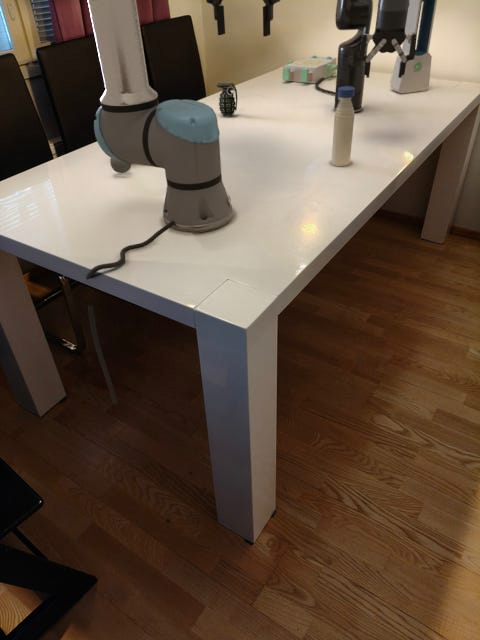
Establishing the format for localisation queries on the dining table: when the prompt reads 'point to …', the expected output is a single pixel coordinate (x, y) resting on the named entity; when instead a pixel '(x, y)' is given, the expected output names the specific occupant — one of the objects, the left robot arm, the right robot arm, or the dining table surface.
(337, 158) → the bottle
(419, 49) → the electronic device
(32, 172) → the dining table surface
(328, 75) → the decorative block
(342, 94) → the cap
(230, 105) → the grenade
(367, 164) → the dining table surface
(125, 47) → the left robot arm
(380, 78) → the dining table surface
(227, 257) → the dining table surface
